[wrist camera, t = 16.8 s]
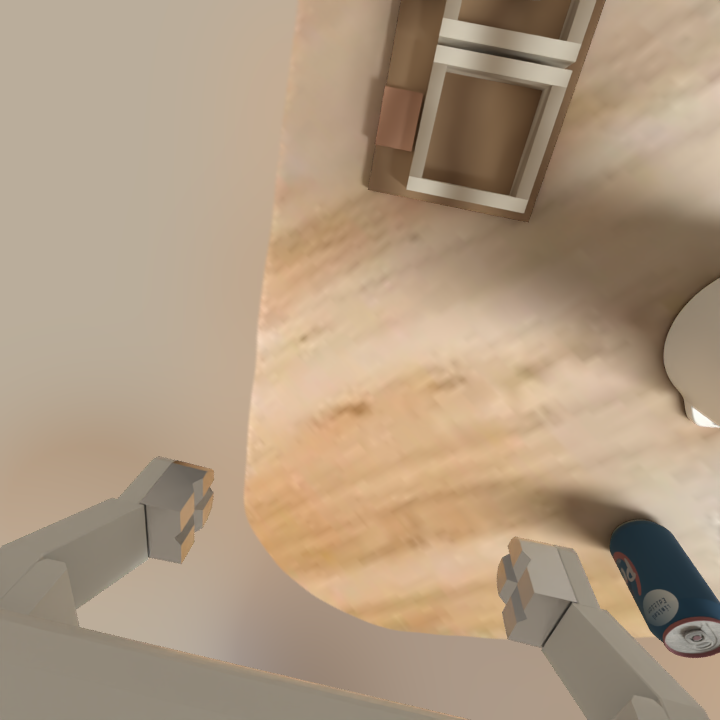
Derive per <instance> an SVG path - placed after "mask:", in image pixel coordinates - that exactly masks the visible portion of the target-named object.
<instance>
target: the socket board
mask: <svg viewBox="0 0 720 720" xmlns="http://www.w3.org/2000/svg"><path fill="white" fill-rule="evenodd" d="M605 1H606V0H401V3H400V9H399V14H398V20H397V26H396V32H395V37H394V43H393V49H392V54H391V60H390V66H389V72H388V77H387V83H386V86H385V89H384V95H383V101H382V106H381V112H380V118H379V124H378V129H377V135H376V141H375V144H376V146H375V152H374V157H373V163H372V169H371V175H370V180H369V186H368V190H372V191H377V192H382V193H387V194H392V195H397V196H402V197H406V198H411V199H416V200H421V201H426V202H431V203H436V204H441V205H446V206H451V207H456V208H460V209H465V210H470V211H475V212H480V213H485V214H490V215H495V216H500V217H505V218H509V219H514V220H519V221H524V222H529V219H530V216H531V213H532V210H533V207H534V204H535V201H536V199H537V196H538V193H539V190H540V187H541V184H542V181H543V179H544V176H545V173H546V170H547V167H548V164H549V161H550V158H551V156H552V153H553V150H554V147H555V144H556V141H557V138H558V135H559V133H560V130H561V127H562V124H563V121H564V118H565V115H566V113H567V110H568V107H569V104H570V101H571V98H572V95H573V92H574V90H575V87H576V84H577V81H578V78H579V75H580V72H581V69H582V67H583V64H584V61H585V58H586V55H587V52H588V49H589V47H590V44H591V41H592V38H593V35H594V32H595V29H596V26H597V24H598V21H599V18H600V15H601V12H602V9H603V6H604V3H605Z"/></svg>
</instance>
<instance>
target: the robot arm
mask: <svg viewBox="0 0 720 720" xmlns="http://www.w3.org/2000/svg"><path fill="white" fill-rule="evenodd" d="M664 365H665V369H666V372H667V375H668V377H669V379H670V381H671V382H672V384H673V385H674V386H675V387H676V388H677V390H678V391H679V392H680V393H681V395H682V396H683V398H684V404H685V411H686V415H687V417H688V419H689V420H691V421H692V422H693V423H695V424H696V425H698V426H702V427H719V428H720V278H719V279H717V280H715V281H714V282H712V283H711V284H709V285H708V286H706V287H705V288H704V289H702V290H701V291H700V292H699V293H698V294H696V295H695V296H694V297H693V298H692V299H691V300H690V301H689V302H688V303H687V304H686V306H685V307H684V308H683V309H682V310H681V312H680V313H679V314H678V316H677V317H676V319H675V321H674V322H673V324H672V326H671V328H670V330H669V332H668V335H667V338H666V342H665V346H664ZM213 480H214V471H213V470H212V469H210V468H206V467H202V466H197V465H194V464H190V463H186V462H182V461H178V460H172V459H168V458H164V457H160V456H158V457H156V458H154V459H153V460H152V461H151V462H150V463H149V464H148V465H147V466H146V467H145V469H144V470H143V471H142V472H141V473H140V474H139V475H138V476H137V478H136V479H135V480H134V481H133V482H132V483H131V484H130V485H129V487H128V488H127V489H126V490H125V491H124V492H123V493H122V494H121V495H120V497H119V498H118V499H115V498H110V499H108V500H106V501H104V502H101V503H99V504H97V505H94V506H92V507H90V508H88V509H85V510H83V511H81V512H78V513H76V514H74V515H72V516H69V517H67V518H65V519H63V520H60V521H58V522H56V523H53V524H51V525H49V526H47V527H44V528H42V529H40V530H37V531H35V532H33V533H31V534H28V535H26V536H24V537H22V538H19V539H17V540H15V541H13V542H10V543H8V544H6V545H3V546H2V547H1V548H0V720H469V719H465V718H461V717H457V716H452V715H448V714H444V713H440V712H435V711H431V710H427V709H423V708H419V707H414V706H410V705H406V704H402V703H398V702H393V701H389V700H385V699H381V698H377V697H372V696H368V695H364V694H359V693H355V692H351V691H347V690H342V689H338V688H334V687H330V686H326V685H322V684H317V683H313V682H309V681H304V680H300V679H296V678H292V677H288V676H283V675H279V674H275V673H271V672H266V671H262V670H258V669H254V668H249V667H245V666H241V665H237V664H233V663H228V662H224V661H220V660H216V659H211V658H207V657H203V656H199V655H195V654H190V653H186V652H182V651H178V650H174V649H169V648H165V647H161V646H157V645H153V644H148V643H144V642H140V641H135V640H131V639H127V638H123V637H119V636H115V635H110V634H106V633H101V632H97V631H94V630H89V629H85V628H81V627H79V622H78V618H77V613H76V609H77V608H79V607H80V606H82V605H83V604H85V603H86V602H88V601H89V600H91V599H92V598H93V597H95V596H96V595H98V594H99V593H101V592H102V591H103V590H104V589H106V588H108V587H109V586H111V585H112V584H113V583H115V582H116V581H118V580H119V579H121V578H122V577H124V576H125V575H126V574H128V573H129V572H131V571H132V570H134V569H135V568H136V567H138V566H139V565H141V564H142V563H144V562H145V561H147V560H148V557H149V558H154V559H159V560H165V561H169V562H174V563H179V564H182V562H183V560H184V559H185V557H186V555H187V554H188V552H189V550H190V548H191V547H192V545H193V543H194V532H196V531H198V530H199V529H201V528H203V526H204V524H205V522H206V521H207V519H208V516H209V513H210V511H211V508H212V502H213V491H212V490H211V488H210V485H211V484H212V482H213ZM508 549H509V553H510V554H508V555H506V556H504V557H502V559H501V561H500V564H499V566H498V572H497V588H498V594H499V596H500V598H501V599H502V600H503V602H504V603H505V604H506V606H505V608H504V610H503V612H502V614H503V619H504V624H505V629H506V634H507V639H508V640H512V641H516V642H520V643H524V644H528V645H531V646H536V647H539V648H542V652H543V653H544V655H545V656H546V658H547V659H548V661H549V662H550V664H551V665H552V667H553V668H554V670H555V671H556V673H557V674H558V676H559V677H560V679H561V680H562V682H563V683H564V685H565V686H566V688H567V689H568V691H569V693H570V694H571V696H572V697H573V698H574V700H575V701H576V703H577V705H578V706H579V708H580V709H581V710H582V712H583V714H584V715H585V717H586V718H587V720H709V718H708V716H707V714H706V712H705V710H704V709H703V708H702V707H701V706H700V705H699V704H698V703H697V702H696V701H695V700H694V699H693V698H692V697H691V696H690V695H689V694H688V693H687V692H686V691H685V690H684V689H683V688H682V687H681V686H680V685H679V684H678V683H677V682H676V681H675V679H673V677H672V676H671V675H669V673H668V672H667V671H666V670H665V669H664V668H663V667H662V666H661V665H660V664H659V663H658V662H657V661H656V660H655V659H654V658H653V657H652V656H651V655H650V654H649V653H648V652H647V651H646V650H645V649H644V648H643V647H642V646H641V645H640V644H639V643H638V642H637V641H636V640H635V639H634V638H633V637H632V636H631V635H630V634H629V633H628V632H627V631H626V630H625V629H624V628H623V627H622V626H621V625H620V624H619V623H618V622H617V620H616V619H615V618H614V617H613V616H612V615H611V614H610V613H609V612H608V611H607V610H603V609H600V606H599V604H598V602H597V599H596V597H595V595H594V592H593V590H592V588H591V585H590V583H589V581H588V578H587V576H586V574H585V571H584V569H583V567H582V564H581V562H580V560H579V557H578V555H577V553H576V552H575V551H574V550H573V549H571V548H566V547H562V546H557V545H551V544H548V543H543V542H538V541H534V540H529V539H524V538H519V537H514V538H512V539H511V541H510V543H509V545H508Z"/></svg>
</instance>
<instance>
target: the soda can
mask: <svg viewBox="0 0 720 720" xmlns="http://www.w3.org/2000/svg"><path fill="white" fill-rule="evenodd" d="M610 552H611V555H612V557H613V558H614V560H615V562H616V564H617V566H618V568H619V570H620V572H621V574H622V576H623V578H624V580H625V582H626V584H627V586H628V588H629V590H630V592H631V594H632V596H633V598H634V600H635V602H636V604H637V606H638V608H639V610H640V612H641V614H642V616H643V618H644V619H645V621H646V623H647V625H648V627H649V629H650V631H651V632H652V633H653V634H654V635H655V636H656V637H657V638H658V639H659V640H661V641H662V642H663V643H664V645H665V646H666V648H667V649H668V650H669V651H670V652H672V653H674V654H676V655H679V656H683V657H688V658H701V657H708V656H712V655H715V654H717V653H719V652H720V602H719V601H718V599H717V598H716V596H715V595H714V593H713V592H712V590H711V589H710V588H709V586H708V585H707V583H706V582H705V580H704V579H703V578H702V576H701V575H700V573H699V572H698V570H697V569H696V567H695V566H694V565H693V563H692V562H691V560H690V559H689V557H688V556H687V554H686V553H685V552H684V550H683V549H682V547H681V546H680V544H679V543H678V542H677V540H676V539H675V537H674V536H673V534H672V533H671V532H670V531H669V530H667V529H666V528H664V527H663V526H661V525H658V524H656V523H654V522H652V521H648V520H641V519H639V520H631V521H628V522H625V523H623V524H621V525H619V526H618V527H617V528H616V529H615V530H614V532H613V533H612V536H611V541H610Z"/></svg>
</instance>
